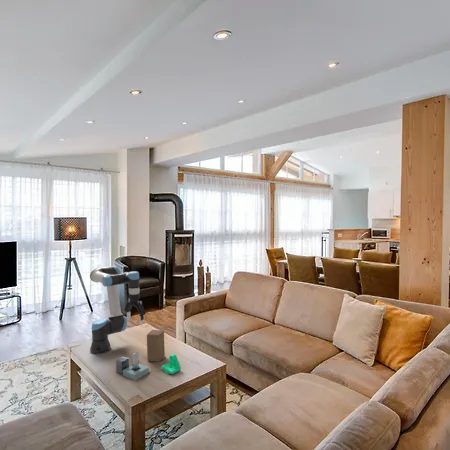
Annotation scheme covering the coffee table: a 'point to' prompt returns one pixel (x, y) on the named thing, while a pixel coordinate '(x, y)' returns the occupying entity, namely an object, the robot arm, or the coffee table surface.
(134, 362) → the cylinder
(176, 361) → the camera mount
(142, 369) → the socket plate
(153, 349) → the wooden block
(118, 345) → the coffee table surface
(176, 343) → the coffee table surface
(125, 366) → the square bit
